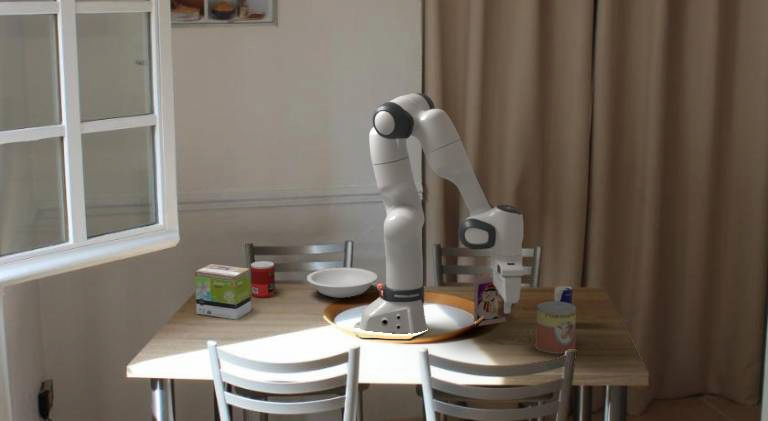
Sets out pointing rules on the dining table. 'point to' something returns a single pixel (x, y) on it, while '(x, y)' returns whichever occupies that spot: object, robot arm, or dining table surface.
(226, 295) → the tea box
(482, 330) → the dining table surface
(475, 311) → the greeting card
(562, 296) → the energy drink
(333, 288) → the soup bowl
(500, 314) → the walnut block
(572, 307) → the canned food
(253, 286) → the canned food
